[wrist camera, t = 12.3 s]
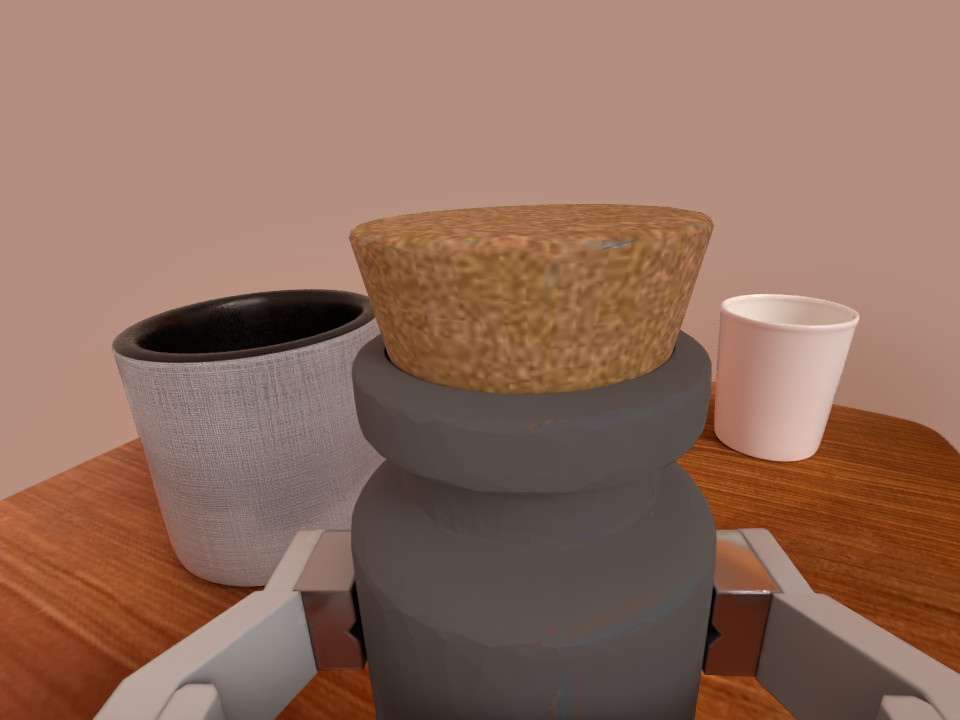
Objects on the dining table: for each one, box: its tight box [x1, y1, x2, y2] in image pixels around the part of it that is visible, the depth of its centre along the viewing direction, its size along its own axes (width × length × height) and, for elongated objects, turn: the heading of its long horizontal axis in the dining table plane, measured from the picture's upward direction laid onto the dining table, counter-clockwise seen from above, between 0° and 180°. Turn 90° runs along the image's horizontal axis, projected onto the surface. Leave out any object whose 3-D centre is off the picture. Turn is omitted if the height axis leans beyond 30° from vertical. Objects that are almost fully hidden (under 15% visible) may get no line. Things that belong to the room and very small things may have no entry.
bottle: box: [349, 204, 717, 720], centre depth 10 cm, size 6×6×15 cm
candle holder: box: [714, 294, 860, 462], centre depth 44 cm, size 10×10×12 cm
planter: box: [112, 289, 386, 587], centre depth 36 cm, size 16×16×16 cm
